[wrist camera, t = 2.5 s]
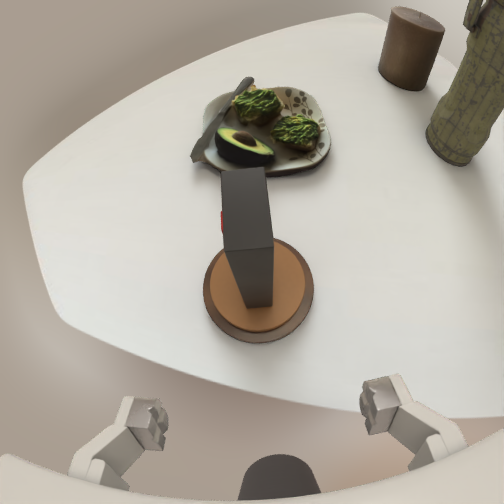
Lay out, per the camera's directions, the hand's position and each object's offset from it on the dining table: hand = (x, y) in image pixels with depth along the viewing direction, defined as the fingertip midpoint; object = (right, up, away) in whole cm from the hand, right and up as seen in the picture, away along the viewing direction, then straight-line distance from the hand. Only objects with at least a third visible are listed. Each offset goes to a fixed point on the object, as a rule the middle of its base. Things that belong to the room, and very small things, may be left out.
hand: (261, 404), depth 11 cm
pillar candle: (+27, +39, +33) cm, 58 cm away
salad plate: (+1, +22, +28) cm, 35 cm away
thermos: (+30, +23, +26) cm, 46 cm away
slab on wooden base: (0, +3, +19) cm, 19 cm away
